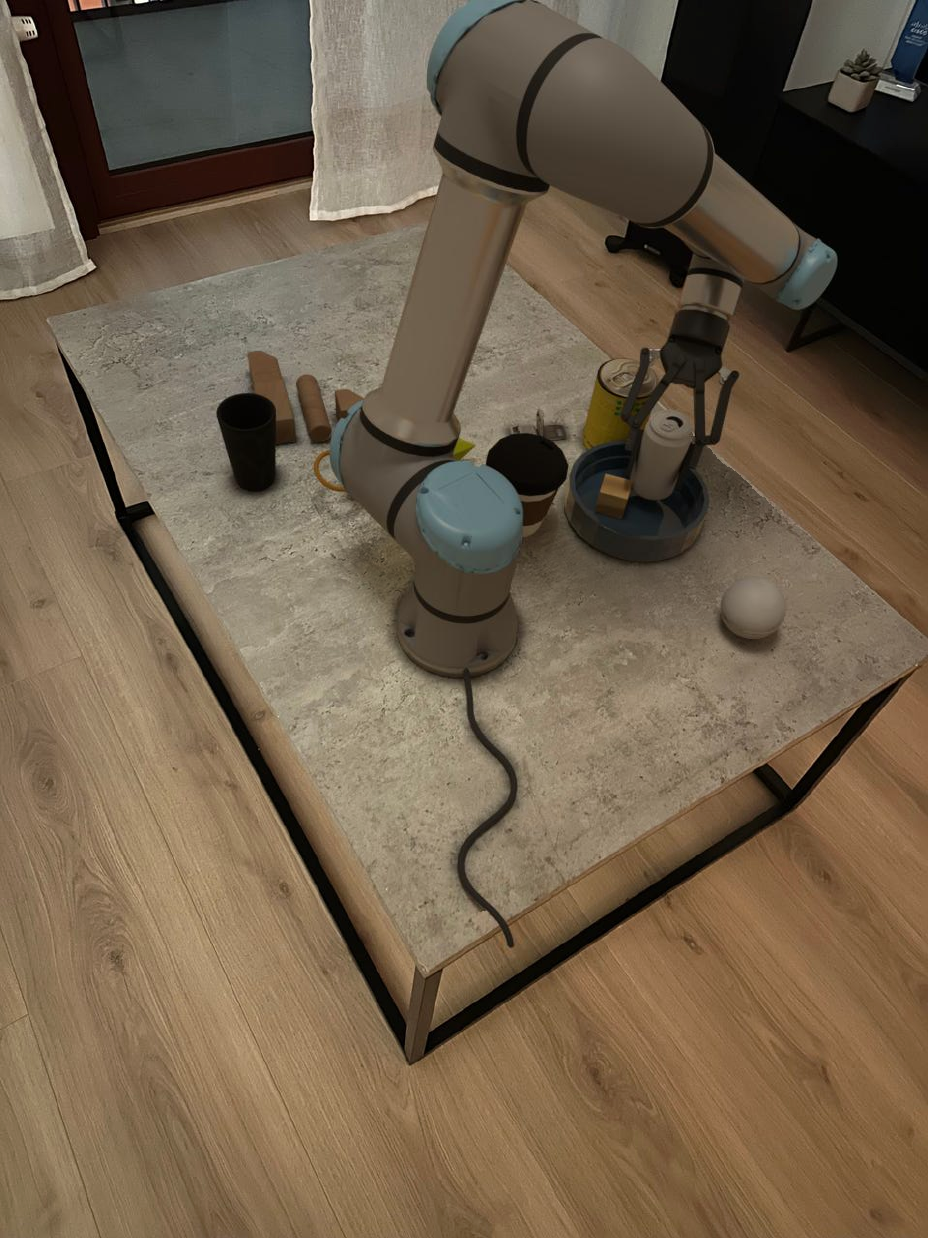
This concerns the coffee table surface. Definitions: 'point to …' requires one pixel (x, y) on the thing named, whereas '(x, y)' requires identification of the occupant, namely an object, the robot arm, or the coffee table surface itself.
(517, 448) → the coffee cup
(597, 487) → the bowl
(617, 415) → the beverage can
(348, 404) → the wooden block set
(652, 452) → the beverage can
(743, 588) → the bath bomb
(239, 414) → the cup
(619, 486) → the block
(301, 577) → the coffee table surface
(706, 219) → the robot arm
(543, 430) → the strap clip
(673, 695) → the coffee table surface
